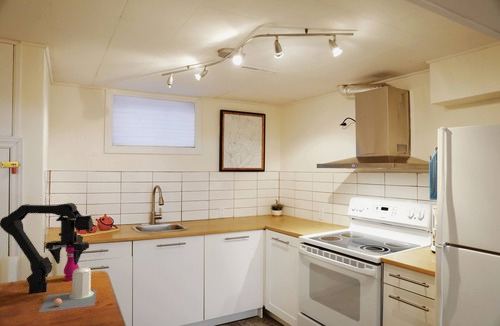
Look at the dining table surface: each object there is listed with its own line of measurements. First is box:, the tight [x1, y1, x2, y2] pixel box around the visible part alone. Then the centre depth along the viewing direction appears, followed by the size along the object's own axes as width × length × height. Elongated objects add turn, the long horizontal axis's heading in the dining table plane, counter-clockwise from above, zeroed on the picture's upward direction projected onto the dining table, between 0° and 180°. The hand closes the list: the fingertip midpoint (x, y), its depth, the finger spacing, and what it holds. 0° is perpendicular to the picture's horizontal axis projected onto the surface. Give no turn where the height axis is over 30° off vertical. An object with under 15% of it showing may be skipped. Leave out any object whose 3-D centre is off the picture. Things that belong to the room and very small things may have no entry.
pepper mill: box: [63, 243, 80, 282], centre depth 177 cm, size 7×7×20 cm
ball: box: [54, 298, 62, 306], centre depth 139 cm, size 3×3×3 cm
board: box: [37, 289, 98, 313], centre depth 146 cm, size 20×20×1 cm
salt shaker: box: [71, 267, 92, 298], centre depth 152 cm, size 7×7×11 cm
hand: (67, 264), depth 158 cm, fingers open, 9 cm apart
